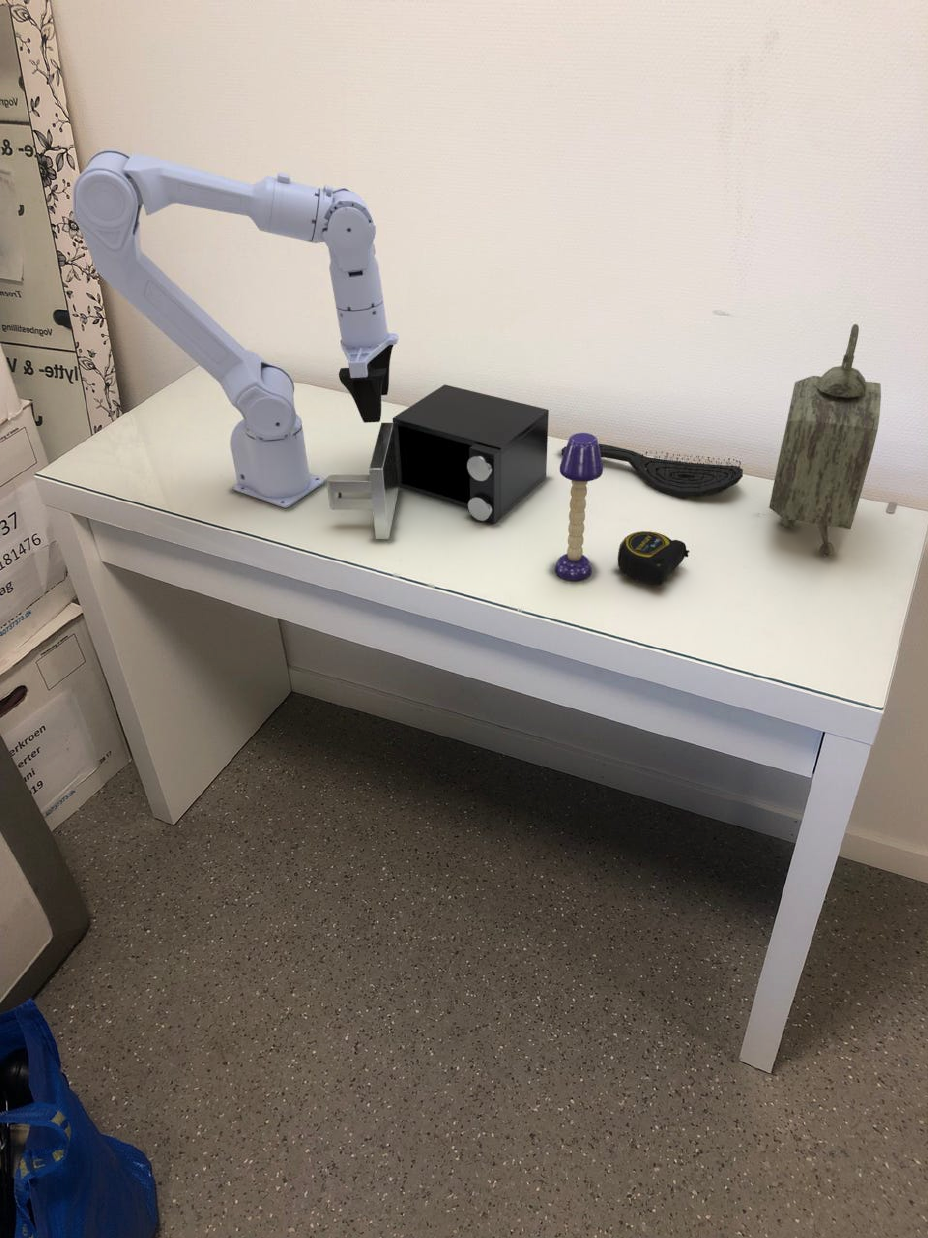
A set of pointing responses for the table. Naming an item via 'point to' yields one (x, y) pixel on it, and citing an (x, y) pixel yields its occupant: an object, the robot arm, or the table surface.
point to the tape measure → (650, 556)
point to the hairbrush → (677, 473)
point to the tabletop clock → (827, 447)
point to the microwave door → (371, 485)
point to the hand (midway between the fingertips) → (376, 407)
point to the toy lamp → (578, 500)
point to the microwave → (472, 450)
